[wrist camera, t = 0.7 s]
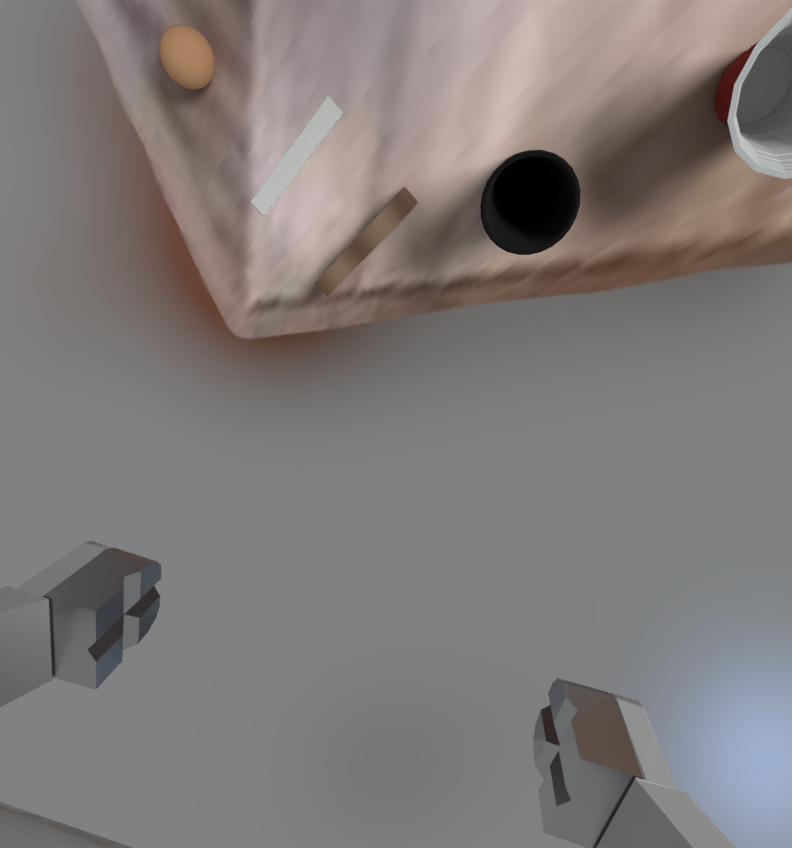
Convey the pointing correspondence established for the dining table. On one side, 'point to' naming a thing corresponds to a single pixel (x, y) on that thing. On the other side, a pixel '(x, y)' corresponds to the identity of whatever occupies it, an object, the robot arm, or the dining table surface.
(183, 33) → the ball
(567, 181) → the cup
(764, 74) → the plastic cup
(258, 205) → the line
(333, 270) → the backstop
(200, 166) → the dining table surface
